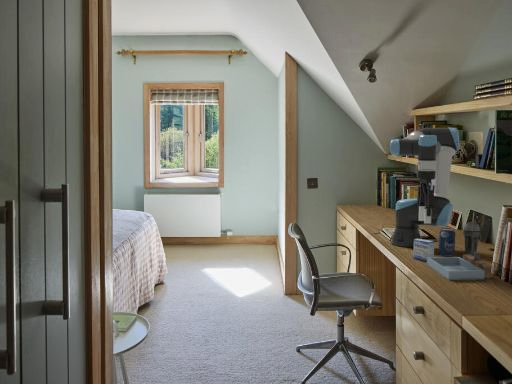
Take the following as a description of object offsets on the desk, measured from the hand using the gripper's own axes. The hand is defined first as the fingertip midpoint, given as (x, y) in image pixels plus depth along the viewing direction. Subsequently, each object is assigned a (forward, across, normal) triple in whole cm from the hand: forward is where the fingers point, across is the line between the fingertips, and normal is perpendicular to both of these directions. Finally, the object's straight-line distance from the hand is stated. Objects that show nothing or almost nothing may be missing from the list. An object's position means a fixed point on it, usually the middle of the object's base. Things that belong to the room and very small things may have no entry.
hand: (424, 221), depth 222 cm
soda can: (+17, -8, +14) cm, 24 cm away
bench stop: (+17, +22, +14) cm, 31 cm away
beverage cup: (+17, -7, +25) cm, 31 cm away
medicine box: (+17, 0, 0) cm, 17 cm away
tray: (+17, +22, +4) cm, 28 cm away
